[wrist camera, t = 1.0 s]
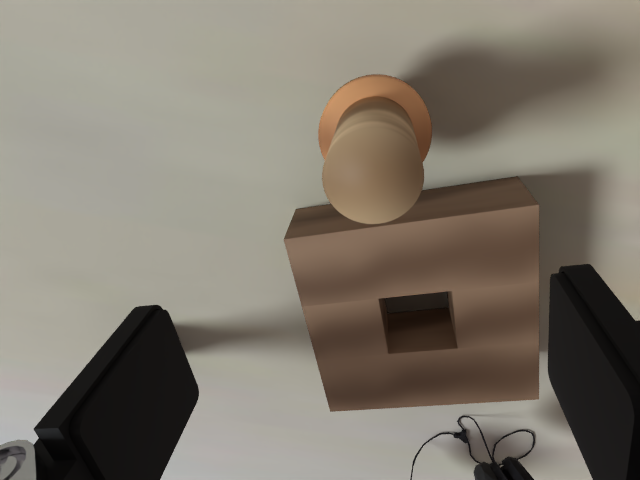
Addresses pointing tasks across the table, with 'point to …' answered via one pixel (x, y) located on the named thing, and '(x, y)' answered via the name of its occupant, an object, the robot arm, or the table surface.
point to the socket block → (421, 278)
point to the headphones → (491, 476)
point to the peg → (374, 148)
